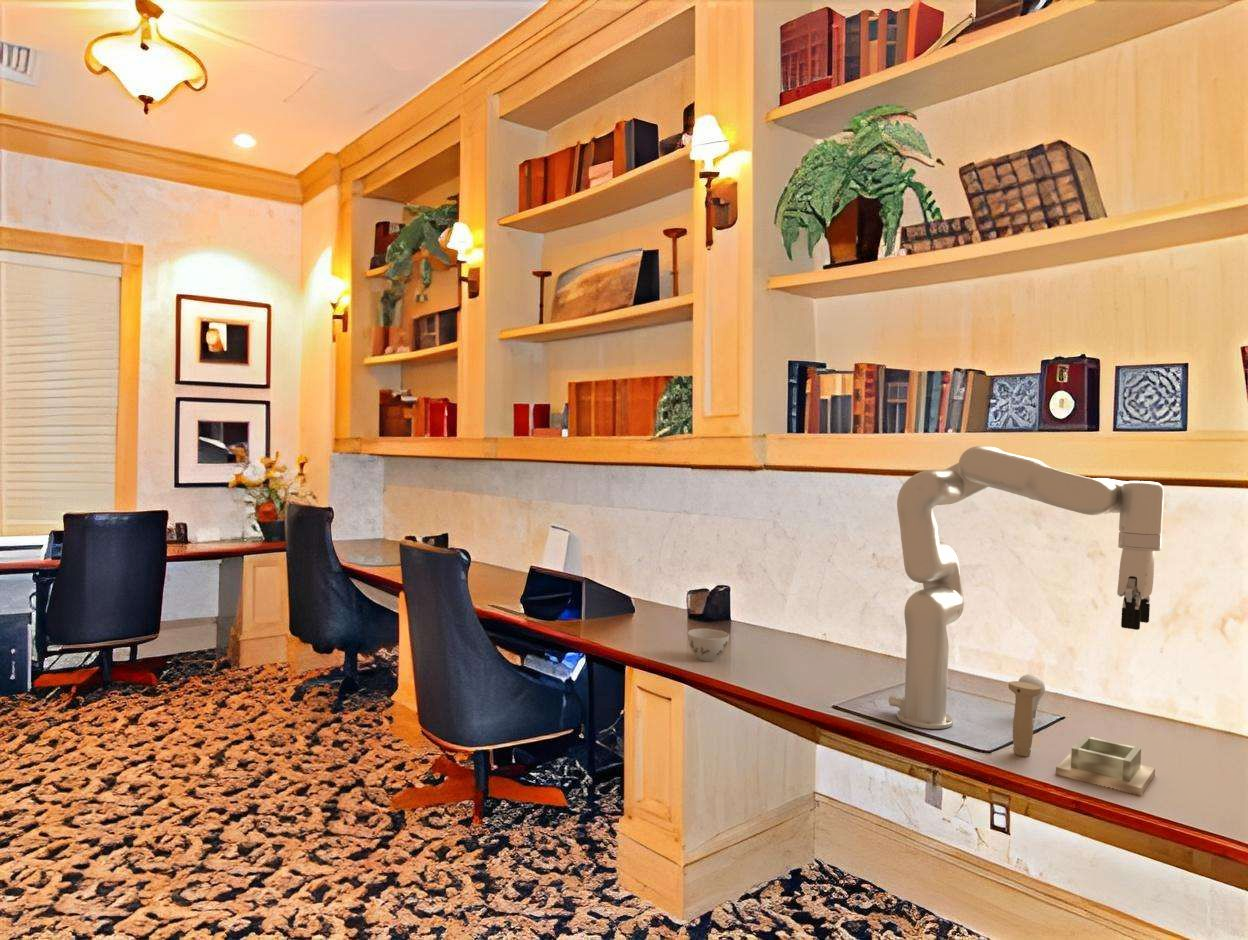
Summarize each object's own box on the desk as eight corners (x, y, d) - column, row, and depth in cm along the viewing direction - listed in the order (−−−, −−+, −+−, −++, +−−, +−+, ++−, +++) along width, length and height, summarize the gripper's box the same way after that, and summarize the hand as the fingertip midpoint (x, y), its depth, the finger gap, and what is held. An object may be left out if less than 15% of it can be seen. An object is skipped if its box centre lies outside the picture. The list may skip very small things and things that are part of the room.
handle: (1013, 747, 189) (1016, 680, 189) (1042, 757, 184) (1045, 687, 183) (1001, 752, 186) (1004, 683, 186) (1030, 761, 181) (1033, 690, 181)
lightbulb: (1042, 725, 205) (1044, 679, 205) (1014, 720, 208) (1016, 675, 208) (1044, 718, 211) (1046, 673, 210) (1017, 713, 214) (1018, 669, 213)
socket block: (1055, 774, 174) (1056, 747, 174) (1073, 756, 185) (1074, 730, 185) (1140, 795, 165) (1142, 767, 164) (1154, 775, 175) (1156, 748, 175)
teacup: (707, 666, 251) (708, 639, 250) (678, 657, 260) (678, 631, 260) (742, 659, 260) (743, 633, 260) (713, 651, 270) (714, 625, 270)
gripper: (1127, 537, 185) (1123, 616, 186) (1109, 543, 172) (1105, 628, 172) (1168, 540, 180) (1163, 622, 181) (1153, 546, 167) (1148, 634, 168)
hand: (1135, 625), depth 177 cm, fingers open, 9 cm apart
